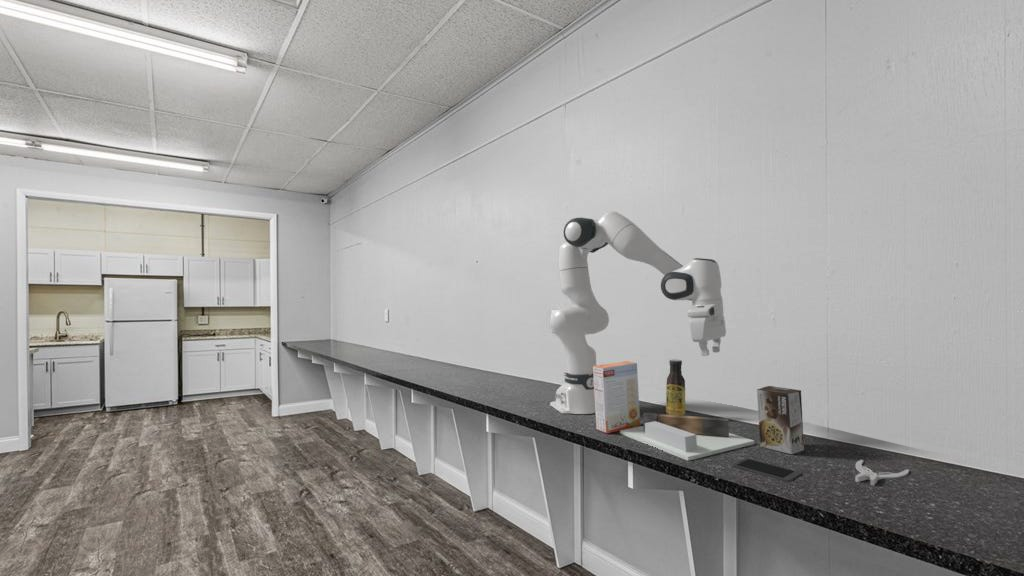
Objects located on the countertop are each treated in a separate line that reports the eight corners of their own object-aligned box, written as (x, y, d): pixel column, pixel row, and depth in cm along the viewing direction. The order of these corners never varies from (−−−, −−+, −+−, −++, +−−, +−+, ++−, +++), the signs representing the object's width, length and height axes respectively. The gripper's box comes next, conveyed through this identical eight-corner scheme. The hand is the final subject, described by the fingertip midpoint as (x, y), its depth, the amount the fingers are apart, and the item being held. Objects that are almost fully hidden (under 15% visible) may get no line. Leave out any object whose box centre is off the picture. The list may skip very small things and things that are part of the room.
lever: (642, 430, 148) (641, 415, 148) (645, 426, 152) (644, 412, 152) (728, 437, 138) (728, 421, 138) (729, 433, 142) (728, 417, 142)
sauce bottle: (664, 419, 165) (661, 360, 165) (669, 414, 170) (667, 358, 170) (683, 421, 161) (681, 361, 161) (688, 416, 167) (686, 359, 167)
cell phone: (789, 484, 110) (789, 480, 110) (730, 467, 121) (730, 464, 121) (803, 475, 114) (803, 472, 114) (745, 460, 125) (745, 457, 125)
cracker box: (628, 422, 162) (626, 360, 162) (641, 427, 157) (638, 362, 157) (594, 429, 156) (592, 364, 156) (606, 434, 151) (603, 367, 151)
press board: (620, 433, 151) (619, 417, 151) (680, 421, 161) (680, 406, 161) (688, 460, 125) (687, 441, 125) (754, 444, 136) (753, 426, 136)
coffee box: (805, 450, 130) (802, 390, 130) (791, 455, 126) (789, 393, 126) (772, 441, 137) (769, 385, 137) (758, 446, 134) (756, 388, 134)
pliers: (910, 466, 113) (891, 484, 103) (910, 473, 113) (891, 491, 103) (859, 456, 121) (838, 472, 111) (860, 462, 121) (838, 478, 111)
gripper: (709, 308, 160) (712, 349, 160) (685, 311, 145) (688, 357, 145) (729, 307, 156) (732, 350, 156) (706, 310, 141) (709, 358, 141)
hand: (711, 354), depth 150 cm, fingers open, 8 cm apart
